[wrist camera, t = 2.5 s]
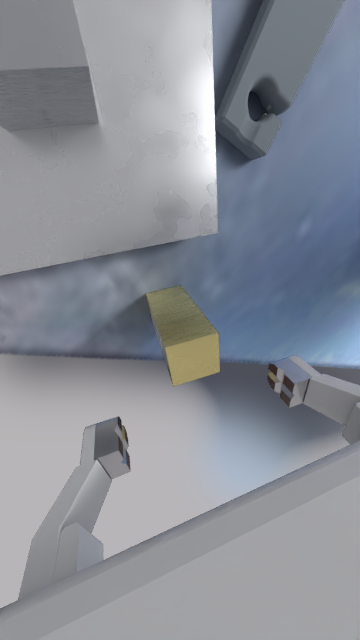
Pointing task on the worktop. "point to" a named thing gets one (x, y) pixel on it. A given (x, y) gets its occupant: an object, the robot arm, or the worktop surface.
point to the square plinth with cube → (104, 128)
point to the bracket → (273, 69)
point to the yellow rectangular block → (184, 335)
